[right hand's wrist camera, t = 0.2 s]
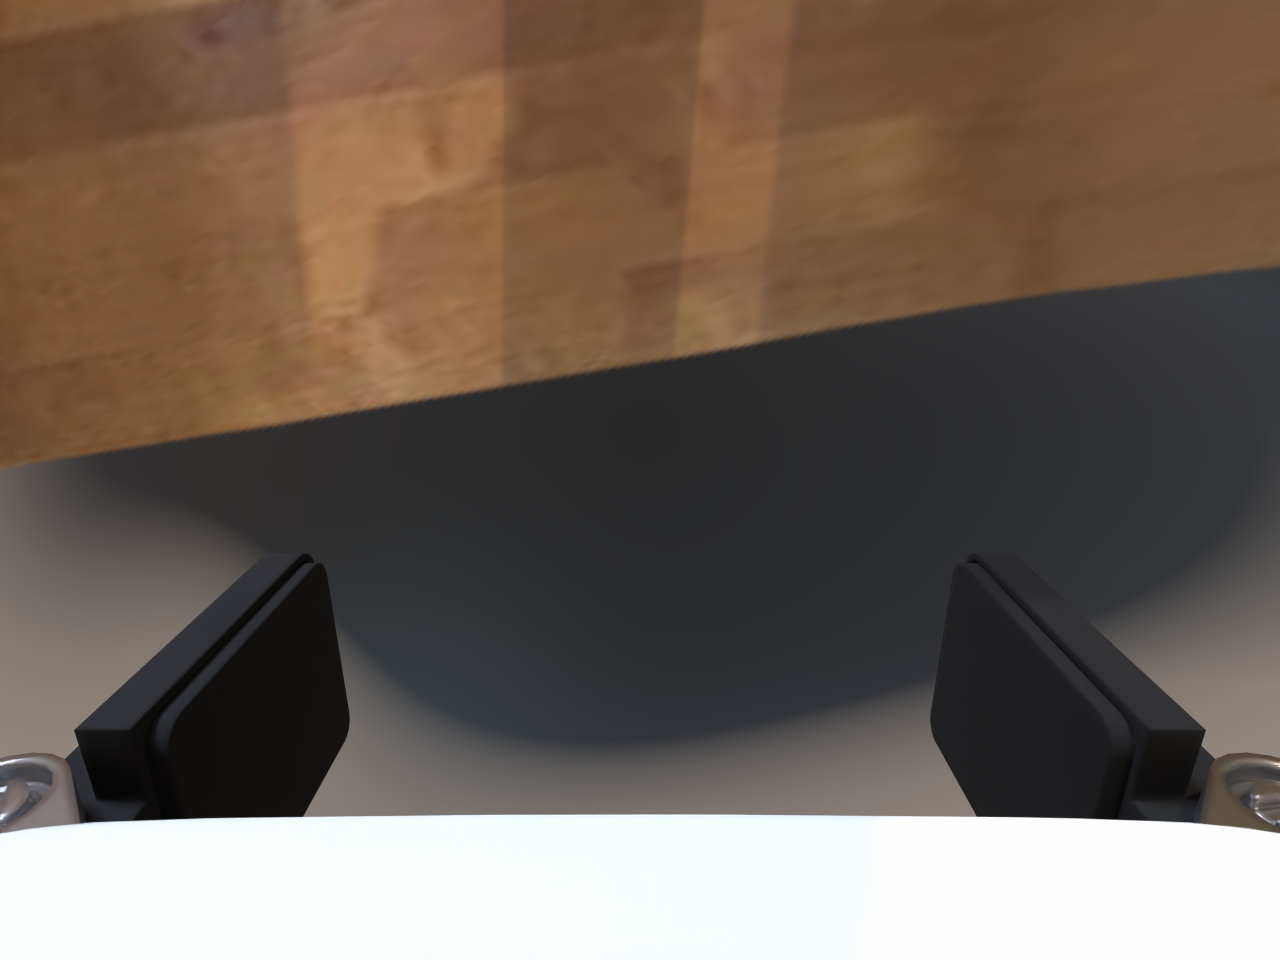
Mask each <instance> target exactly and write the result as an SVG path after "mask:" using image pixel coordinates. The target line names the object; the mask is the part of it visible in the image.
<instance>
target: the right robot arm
mask: <svg viewBox="0 0 1280 960" xmlns="http://www.w3.org/2000/svg"><path fill="white" fill-rule="evenodd" d="M349 721H350V717H349V709H348V702H347V696H346V690H345V684H344V677H343V671H342V665H341V659H340V653H339V647H338V640H337V634H336V628H335V622H334V616H333V609H332V603H331V597H330V591H329V585H328V578H327V573H326V569H325V567H324V566H323V565H322V564H321V563H314V560H313V559H312V557H311V556H310V555H309V554H266V555H264V556H263V557H262V558H261V559H260V560H258V561H257V562H256V563H255V564H254V565H253V566H252V567H251V568H250V569H249V570H248V571H247V572H245V573H244V574H243V575H242V576H241V577H240V578H239V579H238V580H237V581H236V582H235V583H234V584H232V585H231V586H230V587H229V588H228V589H227V590H226V591H225V592H224V593H223V594H222V595H220V596H219V597H218V598H217V599H216V600H215V601H214V602H213V603H212V604H211V605H210V606H209V607H207V608H206V609H205V610H204V611H203V612H202V613H201V614H200V615H199V616H198V617H197V618H195V619H194V620H193V621H192V622H191V623H190V624H189V625H188V626H187V627H186V628H185V629H184V630H182V631H181V632H180V633H179V634H178V635H177V636H176V637H175V638H174V639H173V640H172V641H170V642H169V643H168V644H167V645H166V646H165V647H164V648H163V649H162V650H161V651H160V652H159V653H157V654H156V655H155V656H154V657H153V658H152V659H151V660H150V661H149V662H148V663H147V664H146V665H144V666H143V667H142V668H141V669H140V670H139V671H138V672H137V673H136V674H135V675H134V676H132V677H131V678H130V679H129V680H128V681H127V682H126V683H125V684H124V685H123V686H122V687H121V688H119V689H118V690H117V691H116V692H115V693H114V694H113V695H112V696H111V697H110V698H109V699H107V700H106V701H105V702H104V703H103V704H102V705H101V706H100V707H99V708H98V709H97V710H96V711H94V712H93V713H92V714H91V715H90V716H89V717H88V718H87V719H86V720H85V721H84V722H82V723H81V724H80V725H79V726H78V727H77V728H76V729H75V730H74V731H75V734H76V738H77V741H78V744H79V746H78V747H77V748H76V749H75V750H74V751H73V752H72V753H71V754H70V755H69V756H68V757H67V758H66V759H63V758H61V757H58V756H56V755H53V754H46V753H27V754H20V755H12V756H7V757H4V758H0V960H1280V758H1276V757H1273V756H1268V755H1261V754H1253V753H1234V754H1227V755H1224V756H1222V757H1219V758H1217V759H1214V758H1213V757H1212V756H1211V755H1210V754H1209V753H1208V752H1207V751H1206V750H1205V749H1204V748H1203V747H1202V746H1201V744H1202V740H1203V738H1204V734H1205V731H1206V730H1205V729H1204V728H1203V727H1202V726H1201V725H1200V724H1199V723H1197V722H1196V721H1195V720H1194V719H1193V718H1192V717H1191V716H1190V715H1189V714H1188V713H1187V712H1185V711H1184V710H1183V709H1182V708H1181V707H1180V706H1179V705H1178V704H1177V703H1176V702H1175V701H1174V700H1173V699H1171V698H1170V697H1169V696H1168V695H1167V694H1166V693H1165V692H1164V691H1163V690H1162V689H1160V688H1159V687H1158V686H1157V685H1156V684H1155V683H1154V682H1153V681H1152V680H1151V679H1150V678H1149V677H1148V676H1146V675H1145V674H1144V673H1143V672H1142V671H1141V670H1140V669H1139V668H1138V667H1137V666H1136V665H1134V664H1133V663H1132V662H1131V661H1130V660H1129V659H1128V658H1127V657H1126V656H1125V655H1124V654H1123V653H1121V652H1120V651H1119V650H1118V649H1117V648H1116V647H1115V646H1114V645H1113V644H1112V643H1111V642H1110V641H1108V640H1107V639H1106V638H1105V637H1104V636H1103V635H1102V634H1101V633H1100V632H1099V631H1098V630H1096V629H1095V628H1094V627H1093V626H1092V625H1091V624H1090V623H1089V622H1088V621H1087V620H1086V619H1085V618H1083V617H1082V616H1081V615H1080V614H1079V613H1078V612H1077V611H1076V610H1075V609H1074V608H1073V607H1071V606H1070V605H1069V604H1068V603H1067V602H1066V601H1065V600H1064V599H1063V598H1062V597H1061V596H1060V595H1058V594H1057V593H1056V592H1055V591H1054V590H1053V589H1052V588H1051V587H1050V586H1049V585H1048V584H1046V583H1045V582H1044V581H1043V580H1042V579H1041V578H1040V577H1039V576H1038V575H1037V574H1036V573H1035V572H1033V571H1032V570H1031V569H1030V568H1029V567H1028V566H1027V565H1026V564H1025V563H1024V562H1023V561H1022V560H1020V559H1019V558H1018V557H1017V556H1016V555H1014V554H971V555H970V556H969V557H968V559H967V561H966V563H959V564H958V565H957V566H956V567H955V570H954V573H953V578H952V585H951V591H950V597H949V603H948V609H947V616H946V622H945V628H944V634H943V641H942V647H941V653H940V659H939V665H938V671H937V677H936V684H935V690H934V696H933V702H932V708H931V716H930V721H931V730H932V734H933V737H934V739H935V742H936V744H937V745H938V747H939V749H940V751H941V753H942V754H943V756H944V758H945V760H946V761H947V763H948V765H949V767H950V769H951V771H952V772H953V774H954V776H955V778H956V780H957V781H958V783H959V785H960V787H961V789H962V790H963V792H964V794H965V796H966V798H967V799H968V801H969V803H970V805H971V807H972V808H973V810H974V812H975V814H976V816H977V817H919V816H809V815H449V816H363V817H303V815H304V814H305V812H306V810H307V808H308V806H309V805H310V803H311V801H312V799H313V798H314V796H315V794H316V792H317V790H318V789H319V787H320V785H321V783H322V781H323V779H324V778H325V776H326V774H327V772H328V770H329V769H330V767H331V765H332V763H333V761H334V760H335V758H336V756H337V754H338V752H339V751H340V749H341V747H342V745H343V744H344V742H345V739H346V737H347V734H348V730H349Z"/></svg>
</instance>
